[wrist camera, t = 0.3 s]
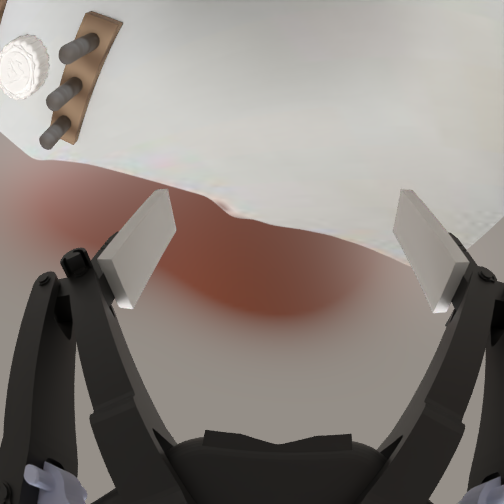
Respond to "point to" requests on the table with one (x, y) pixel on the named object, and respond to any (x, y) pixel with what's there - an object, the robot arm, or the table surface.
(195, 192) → the table surface
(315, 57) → the table surface
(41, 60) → the mooncake
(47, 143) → the rails
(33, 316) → the robot arm
